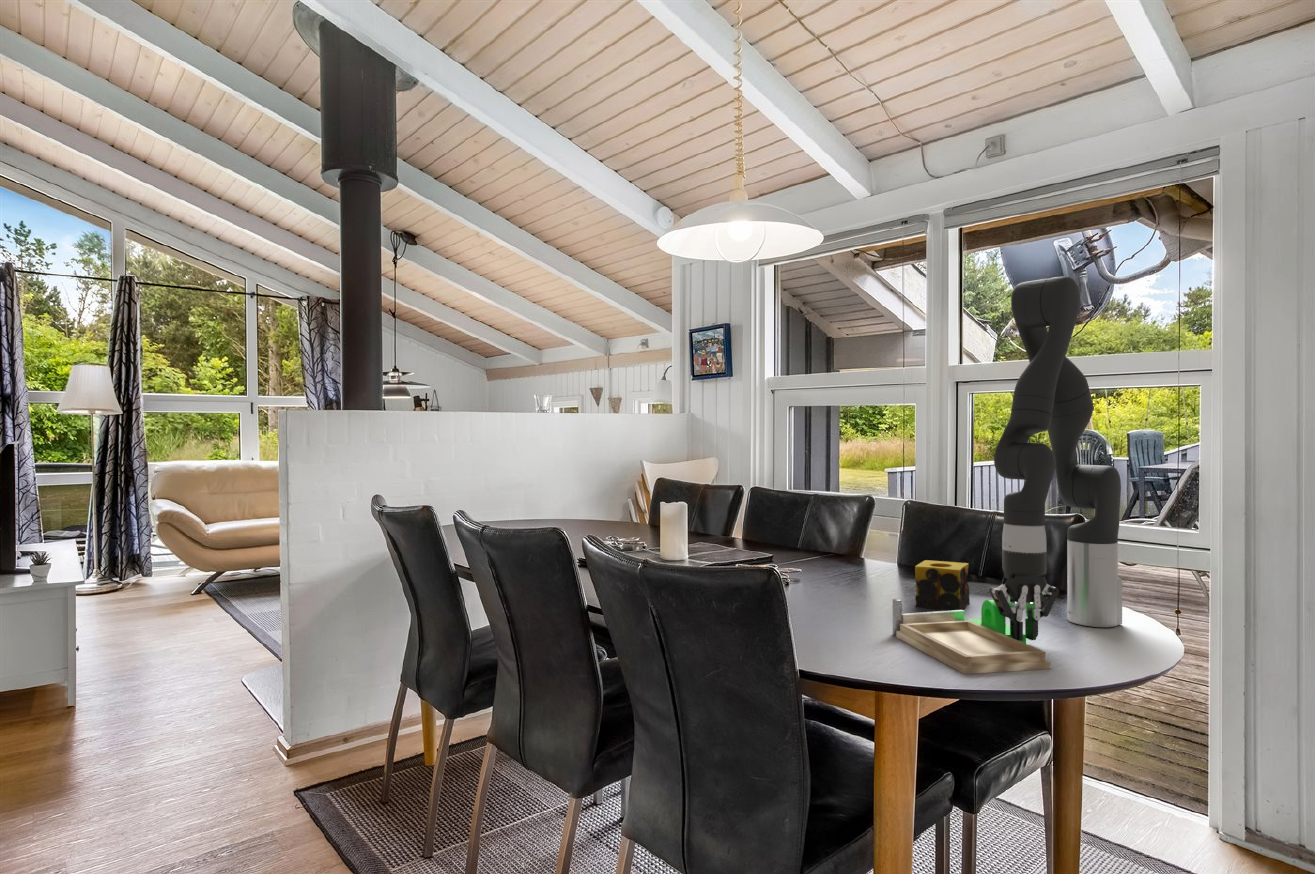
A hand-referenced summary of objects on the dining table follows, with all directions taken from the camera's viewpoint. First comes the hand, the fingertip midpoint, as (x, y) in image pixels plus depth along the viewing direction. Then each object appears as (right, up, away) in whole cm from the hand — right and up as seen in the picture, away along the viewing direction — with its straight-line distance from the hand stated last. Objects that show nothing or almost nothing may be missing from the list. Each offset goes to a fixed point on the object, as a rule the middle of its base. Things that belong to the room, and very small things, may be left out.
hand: (1024, 639), depth 140 cm
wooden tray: (-12, -1, -4) cm, 13 cm away
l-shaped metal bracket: (-15, -1, +9) cm, 17 cm away
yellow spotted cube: (-4, -1, +31) cm, 31 cm away
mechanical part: (-2, -2, +7) cm, 7 cm away
